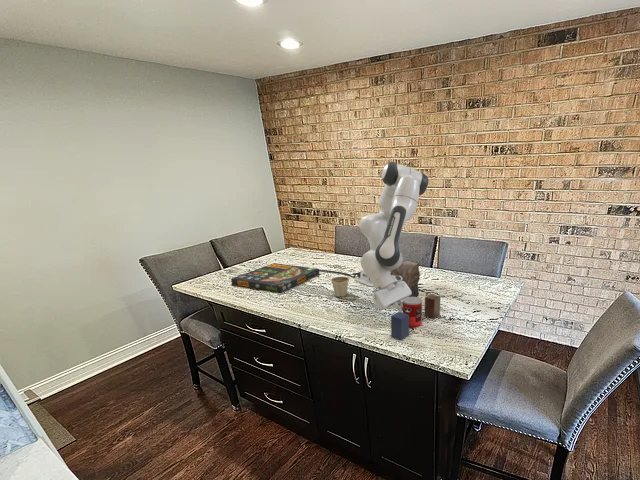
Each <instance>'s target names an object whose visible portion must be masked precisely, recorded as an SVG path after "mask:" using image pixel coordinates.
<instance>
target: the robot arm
mask: <svg viewBox="0 0 640 480" xmlns="http://www.w3.org/2000/svg"><path fill="white" fill-rule="evenodd" d="M381 172H382V173H381V180H382V183H383V184H384V187H383V189H382V191H381V194H380V196H379V198H378V205H379V207H380V211H379V212H378V213H371V214H367V215H364V216H363V217H361V218H360V220H359V224H358V228H359V231H360V232H361V233H362V235H364V236H365V237H366V239H367V241H368V243H369V247H370V249H369V250H368V251H366V252H365V253H363V255H362V256H361V258H360V260H359V263H360V266H361V268H362V269H361V270H360V271H359V272H356V273H354V274H353V275H351V274H349V273H347V272H341V271H336V270H328V269H319V268H318V269H319V272H328V273H335V274H341V275H346V276H347V277H350V278H356V280H355V281H356V282H358V283H361V284H364V285H366V286H368V287H372V288H373V287H374V289H372V290H371V292H370V296H371V297H372V299H373V301H374V304H375V305H376V307H377V309H378V310H380V311H383V310H385V309H387V308H389V307H391V306H392V307H393V308H394V309H396V310H397V312H401V313H403V299H404V298H406V297H409V296H410V295H411V294H412V292H411V290H410V288H409V287H408V285H407V284H406V283H405V282H404V281H402V280H403V278H402V277H401V276H394V275H391V274H390V273H391V271H392V270H395V269H397V268H398V267H400V266H401V264H402V262H403V261H404V256H403V253H402V252H401V250H400V247H399V242H400V238H401V235H402V231H403V227H404V225H405V223H406V222H409V221H410V220H412V219H413V217H414V215H415V214H416V210H417V207H418V202H419V197H421V196H422V195H424V194H425V193H426V191H427V189H428V186H429V177H428V176H427V175H426V174H425V173H424V172H420V171H419V170H417V169H415V168H413V167H411V166H407V165H404V164H401V163H397V162H396V161H389V162H387V163H386V164H385V165H384V167H383V168H382V171H381ZM356 276H357V277H356ZM398 304H400V306H401V307H400V306H399V305H398Z"/></svg>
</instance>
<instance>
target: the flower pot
mask: <svg viewBox="0 0 640 480" xmlns="http://www.w3.org/2000/svg"><path fill="white" fill-rule="evenodd" d="M349 281H350V278H349V276H334V277H332V278H330V282H331V284H332V287H333V292H334V296H335V297H336V298H337V297H342V298H343V297H347V295H348V289H349V288H348V287H349Z"/></svg>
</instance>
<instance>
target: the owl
mask: <svg viewBox="0 0 640 480" xmlns="http://www.w3.org/2000/svg"><path fill="white" fill-rule="evenodd" d="M419 267H420V262H415V261H412V260H406V261H405V260H403V262H402V264H401V266H400V267H398V268H397V269H395V270H392V271H391V273H390V274H391V275H394V276H401V277H402V278H403V280H402V281H404V282H405V283H406V284H407V285H408V287H409V288H410V290H411V292H412V294H411V295H410V296H409V297H418V298H419V295H420V292H419V281H420V279H421V277H420V276H421V271H420V269H419ZM398 305H399V306H400V304H398ZM400 307H401V306H400Z"/></svg>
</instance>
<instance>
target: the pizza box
mask: <svg viewBox="0 0 640 480" xmlns="http://www.w3.org/2000/svg"><path fill="white" fill-rule="evenodd" d="M318 275H320V271H319V268H317V267H308V266H301V265H300V266H299V265H292V264H285V263H284V264H283V263H276V262H273V263H270V264H267V265H265V266H263V267H259V268H257V269H254V270H251V271H248V272H246V273H243V274H241V275H237V276H235V277H231V278H230V281H231V285H232V286H237V287H244V288H251V289H256V290H262V291H268V292H269V291H270V292H274V293H283V292H286V291H288V290H289V289H292V288H294V287H296V286H298V285H300V284H302V283H304V282H307V281H308V280H311V279H312V278H314V277H316V276H318Z"/></svg>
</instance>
